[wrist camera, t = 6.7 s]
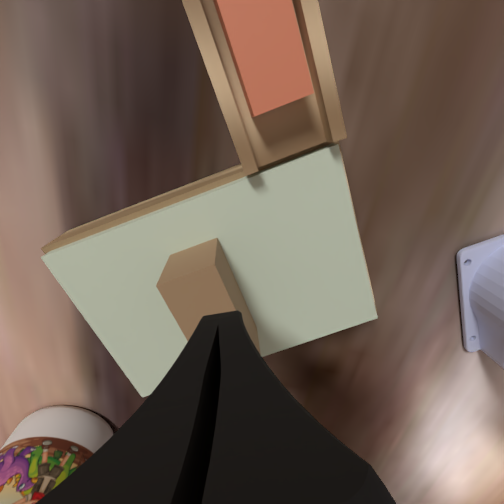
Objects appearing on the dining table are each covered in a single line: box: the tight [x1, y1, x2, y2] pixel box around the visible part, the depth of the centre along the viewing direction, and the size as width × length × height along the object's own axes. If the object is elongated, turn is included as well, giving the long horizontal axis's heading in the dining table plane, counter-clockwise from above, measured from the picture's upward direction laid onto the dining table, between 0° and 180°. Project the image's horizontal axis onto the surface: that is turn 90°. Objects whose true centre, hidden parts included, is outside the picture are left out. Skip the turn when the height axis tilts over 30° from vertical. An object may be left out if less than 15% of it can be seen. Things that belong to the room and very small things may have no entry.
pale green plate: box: [41, 143, 378, 397], centre depth 15 cm, size 10×15×4 cm
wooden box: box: [41, 141, 377, 313], centre depth 18 cm, size 11×16×3 cm
